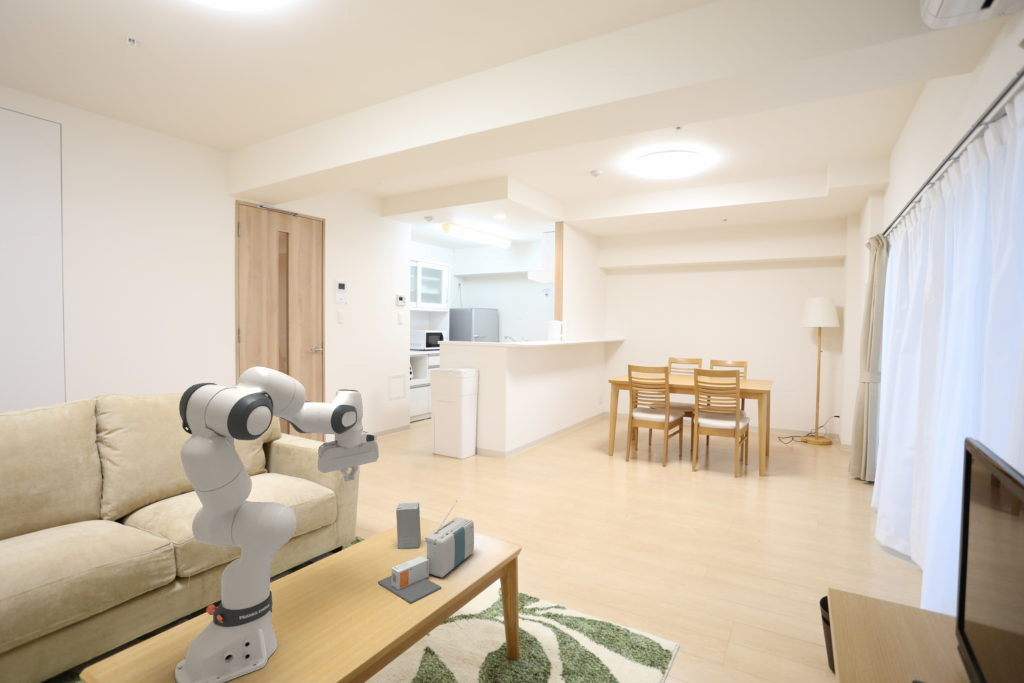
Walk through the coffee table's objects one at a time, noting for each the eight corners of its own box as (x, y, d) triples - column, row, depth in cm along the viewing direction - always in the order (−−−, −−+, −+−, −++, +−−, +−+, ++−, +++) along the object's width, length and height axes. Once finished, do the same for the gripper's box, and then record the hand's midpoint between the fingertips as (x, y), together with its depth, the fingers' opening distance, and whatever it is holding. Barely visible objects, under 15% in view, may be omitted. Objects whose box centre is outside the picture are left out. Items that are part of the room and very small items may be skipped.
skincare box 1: (420, 541, 195) (420, 501, 194) (418, 549, 188) (418, 508, 187) (399, 541, 194) (399, 501, 194) (396, 549, 187) (395, 508, 187)
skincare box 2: (398, 572, 157) (429, 559, 165) (391, 567, 160) (421, 554, 168) (398, 590, 157) (429, 576, 166) (391, 585, 160) (421, 572, 169)
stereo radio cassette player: (443, 580, 164) (443, 521, 164) (423, 575, 168) (423, 517, 167) (475, 554, 183) (475, 501, 183) (456, 550, 187) (456, 498, 186)
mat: (410, 603, 150) (410, 602, 150) (377, 583, 162) (377, 581, 162) (441, 588, 159) (441, 586, 159) (407, 570, 171) (407, 568, 171)
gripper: (323, 445, 152) (323, 490, 152) (381, 434, 167) (381, 475, 167) (313, 442, 156) (314, 485, 156) (370, 432, 171) (371, 471, 171)
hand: (349, 480), depth 162 cm, fingers closed
